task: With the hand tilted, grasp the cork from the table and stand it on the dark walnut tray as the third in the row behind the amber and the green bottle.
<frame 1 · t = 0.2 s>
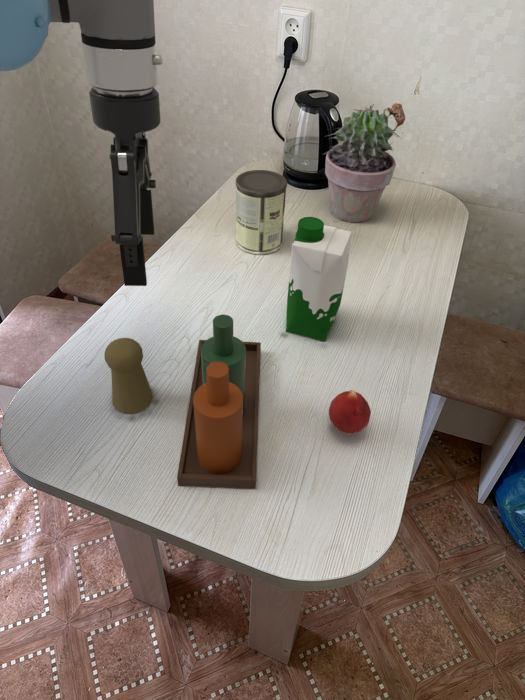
hand: (140, 257, 69), 20 cm above the table, tool pointing down, fingers open, 13 cm apart
amber bottle: (219, 455, 69), point 1 cm above the table, touching tray
milk carton: (310, 325, 91), on the table
green bottle: (224, 407, 75), point 1 cm above the table, touching tray
coffee can: (258, 242, 110), on the table
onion: (345, 429, 74), on the table
tray: (224, 410, 76), on the table
potted plant: (347, 213, 121), on the table
cork: (133, 399, 77), on the table
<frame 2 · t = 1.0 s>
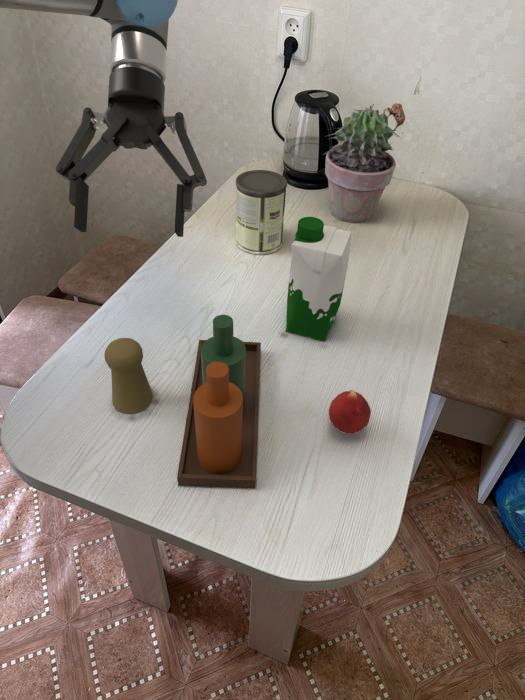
hand: (129, 232, 69), 22 cm above the table, tool tilted 45°, fingers open, 13 cm apart
nothing on the table moved.
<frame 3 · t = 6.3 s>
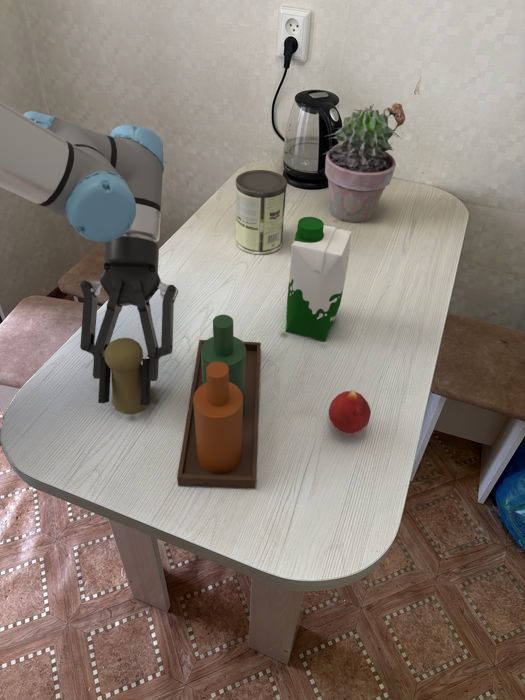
hand: (124, 403, 72), 3 cm above the table, tool tilted 45°, fingers closed on cork, 5 cm apart
cork: (133, 399, 77), on the table, touching gripper
everything else where it was.
when the fingers open (4 cm above the table, at t = 17.6 s): cork stays where it is, resting on tray.
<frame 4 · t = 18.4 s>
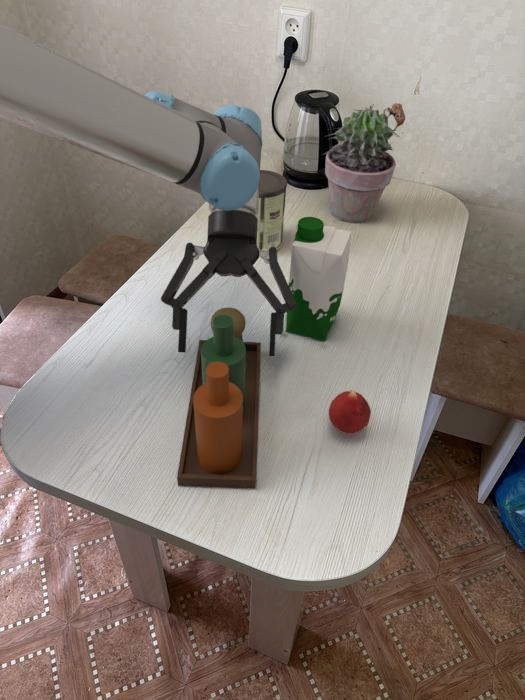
hand: (226, 354, 76), 6 cm above the table, tool tilted 45°, fingers open, 13 cm apart
cork: (228, 367, 82), resting on tray
everything else where it was.
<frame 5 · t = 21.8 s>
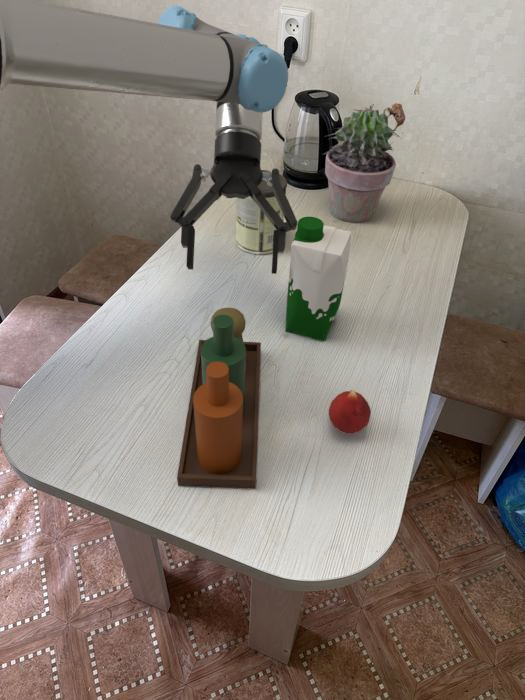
hand: (232, 270, 81), 12 cm above the table, tool tilted 45°, fingers open, 13 cm apart
nothing on the table moved.
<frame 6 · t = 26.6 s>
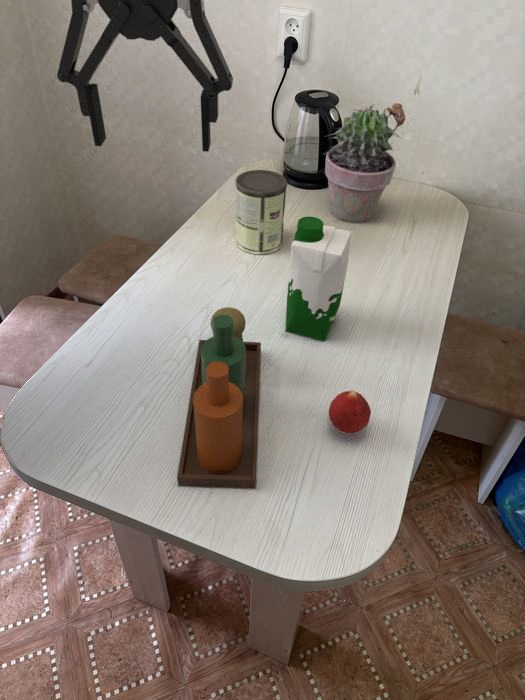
hand: (153, 145, 65), 33 cm above the table, tool pointing down, fingers open, 13 cm apart
nothing on the table moved.
at the end: cork 0.1 cm from the target spot in the tray, point 0.4 cm above the tray's base; cork tilted 0°; green bottle moved 0.0 cm from its start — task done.
